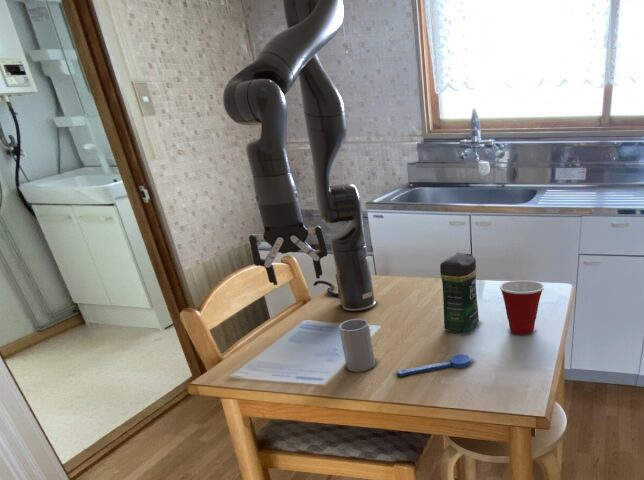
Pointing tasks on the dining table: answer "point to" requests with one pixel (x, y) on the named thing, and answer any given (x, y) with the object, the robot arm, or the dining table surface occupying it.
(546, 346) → the dining table surface
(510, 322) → the plastic cup
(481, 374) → the dining table surface
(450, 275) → the coffee jar
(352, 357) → the gray cup
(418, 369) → the spoon
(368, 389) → the dining table surface
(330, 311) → the dining table surface
